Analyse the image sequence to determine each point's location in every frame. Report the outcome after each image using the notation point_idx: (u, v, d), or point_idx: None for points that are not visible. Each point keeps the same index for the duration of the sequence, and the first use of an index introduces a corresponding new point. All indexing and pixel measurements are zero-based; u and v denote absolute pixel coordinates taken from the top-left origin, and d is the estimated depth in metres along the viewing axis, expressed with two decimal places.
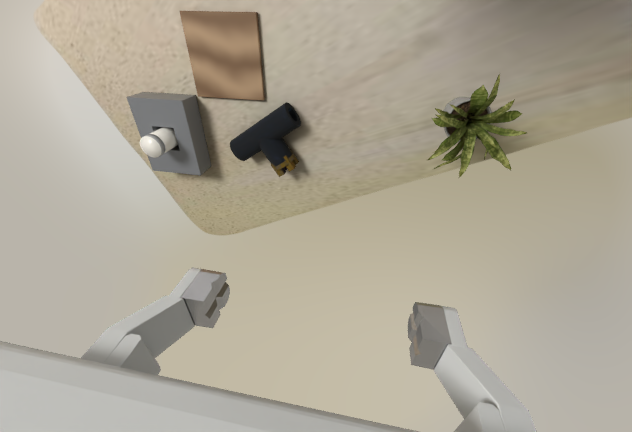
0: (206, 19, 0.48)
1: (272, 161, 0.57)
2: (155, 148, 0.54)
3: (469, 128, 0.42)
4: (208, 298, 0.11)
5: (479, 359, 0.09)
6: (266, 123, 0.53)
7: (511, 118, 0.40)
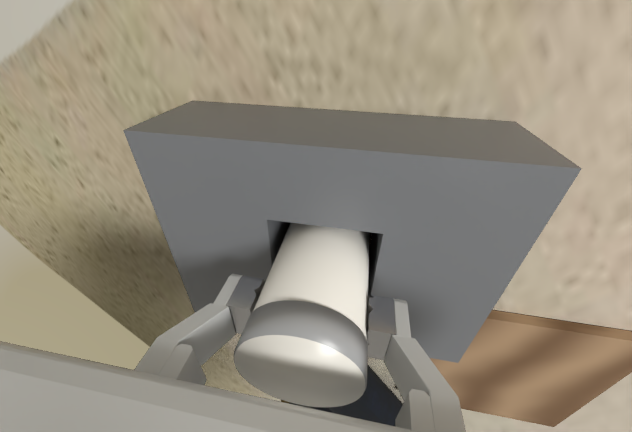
0: (601, 378, 0.20)
1: None
2: (293, 389, 0.10)
3: None
4: (252, 305, 0.10)
5: (420, 348, 0.09)
6: None
7: None
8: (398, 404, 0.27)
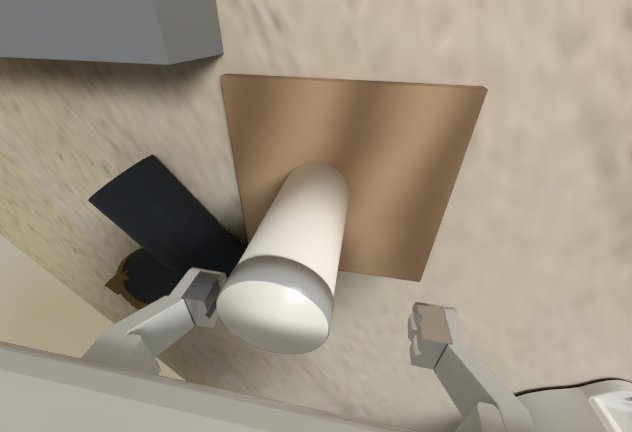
0: (436, 175, 0.16)
1: (134, 281, 0.22)
2: (269, 336, 0.11)
3: None
4: (208, 298, 0.11)
5: (478, 359, 0.09)
6: None
7: None
8: None
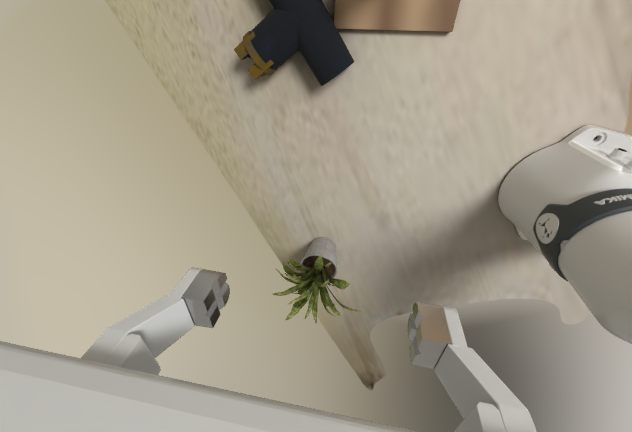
0: None
1: (259, 36, 0.33)
2: None
3: (314, 280, 0.48)
4: (208, 298, 0.11)
5: (478, 359, 0.09)
6: (323, 28, 0.31)
7: (324, 302, 0.50)
8: None
